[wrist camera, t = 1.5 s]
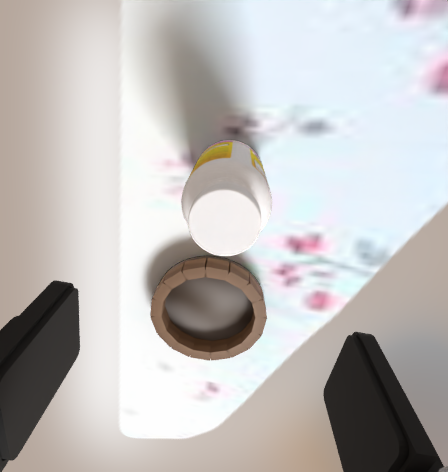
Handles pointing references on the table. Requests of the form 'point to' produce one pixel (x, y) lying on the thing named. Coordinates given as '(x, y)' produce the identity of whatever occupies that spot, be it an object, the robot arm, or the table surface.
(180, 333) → the ring holder
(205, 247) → the supplement bottle
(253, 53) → the table surface
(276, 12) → the table surface
